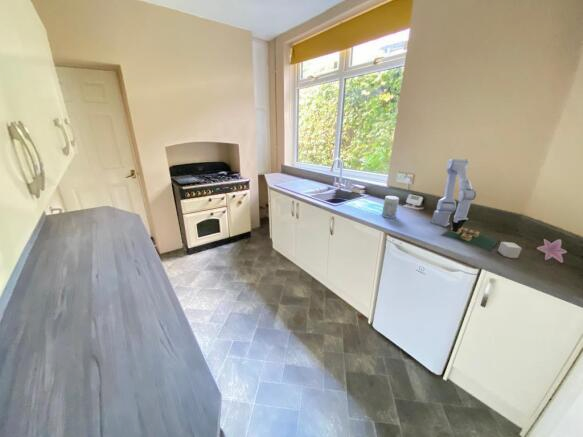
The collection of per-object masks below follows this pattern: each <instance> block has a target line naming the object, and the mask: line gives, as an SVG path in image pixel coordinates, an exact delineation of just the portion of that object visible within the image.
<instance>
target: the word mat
mask: <svg viewBox="0 0 583 437" xmlns="http://www.w3.org/2000/svg"><path fill="white" fill-rule="evenodd" d="M450 231H451V229H449V230H448V231H446V232H444V233H443V234H442V236H444V237H447V238H450V239H453V240H456V241H458V242H462V243H465V244H467V245H471V246H474V247H477V248H480V249H483V250H486V251H491V250H492V249H493V248H494V247H495V246H496V245H497V243H499V240H498V239H495V238H491V237H487V236H486V235H485V236H484V235H481V234H479V236H477V237H473V236H472V239H471V240H470V241H466V240H463V239H460V238H461V235H462V234H463V233H459V234H456V233H453V232H450ZM468 233H469V231H468V232H467V233H466V234H468Z"/></svg>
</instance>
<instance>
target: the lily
mask: <svg viewBox="0 0 583 437" xmlns="http://www.w3.org/2000/svg"><path fill="white" fill-rule="evenodd" d="M543 244H544V245H540V246H538V247H537V246H536V250H538V251H541V254H542V255H543V254H545V255H544V261H548V260H551V258H553V259H555V260H556V261H558V262H559V263H561V264H563V263H564V258H563V255H562V254H566V253H568V251H567V250H566V249H564V248H562V239H561V238H560V239H556V240H555V241H552V242H550V241H549V240H547V239H546V238H543Z"/></svg>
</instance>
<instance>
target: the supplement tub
mask: <svg viewBox="0 0 583 437" xmlns="http://www.w3.org/2000/svg"><path fill="white" fill-rule="evenodd" d="M399 202H400V198H399V197H398V196H395V195H386V196H385V197H384V201H383V207H382V213H381V214H382V216H383V217H384V218H385V219H395V218H396V216H397V211H398V207H399Z"/></svg>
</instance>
